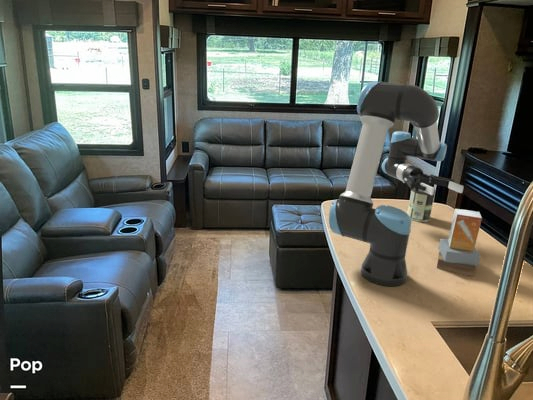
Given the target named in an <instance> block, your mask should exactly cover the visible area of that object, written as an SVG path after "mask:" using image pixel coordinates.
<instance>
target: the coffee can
mask: <svg viewBox="0 0 533 400" xmlns="http://www.w3.org/2000/svg"><path fill="white" fill-rule="evenodd" d="M435 194H436V189H434V193H433V195H430V194H428V193H425V192H423V191H421V190H418V191H415V188H414V189H411V188H410V197H409V201H408V208H407V212H406V213H407V214H408V215H409V216H410V218H411V221H415V222H420V223H427V222H429V221H430V220H431V219H430V218H431V213H432V209H433V203H434V198H435Z"/></svg>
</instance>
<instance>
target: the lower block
mask: <svg viewBox="0 0 533 400" xmlns="http://www.w3.org/2000/svg"><path fill="white" fill-rule="evenodd" d="M438 250H439V249H438ZM436 263H437V264H436V269H440V270H444V271H449V272H453V273H456V274H461V275H465V276H471V277H474V276H475V273H476V272H475V271H476V266H475V265H467V264H459V263H451V262H445V261H444V259H443V257H442V255H441V253H440V250H439V251H438V256H437V262H436Z"/></svg>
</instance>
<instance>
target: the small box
mask: <svg viewBox="0 0 533 400" xmlns="http://www.w3.org/2000/svg"><path fill="white" fill-rule="evenodd" d="M482 221H483V217H482V215H481V213H480V211H475V210H468V209H462V208H461V209H460V208H454V212H453V217H452V221H451V226H450V230H449V235H448V238H447V239H448V243H449V247H450V248H455V249H461V250H466V251H471V252H474V248H476V244H477V241H478V236H479V235H478V234H479V231H480V228H481V223H482Z"/></svg>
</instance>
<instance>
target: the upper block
mask: <svg viewBox="0 0 533 400" xmlns="http://www.w3.org/2000/svg"><path fill="white" fill-rule="evenodd" d="M448 239H449V238H440V239H439V244H438V247H437V249H438V250H440V253H441V255H442V257H443V259H444V261H445V262H451V263H459V264H467V265H475V267H476V266H477V267H478V266H479V263H480V259H481V254H480V253H479V251H478V250H477V247H475V248H474V252H471V251H466V250H461V249H455V248H450V247H449V243H448Z"/></svg>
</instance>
